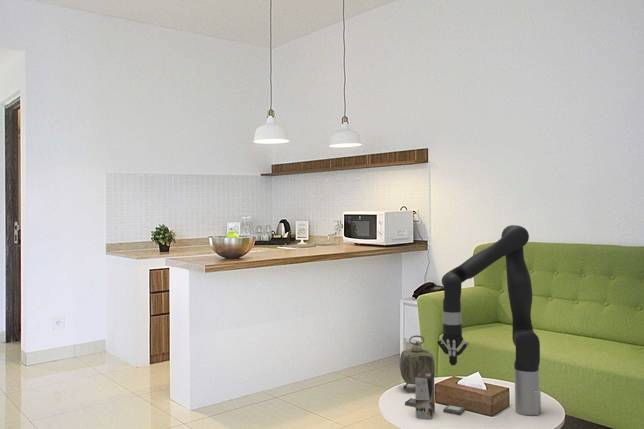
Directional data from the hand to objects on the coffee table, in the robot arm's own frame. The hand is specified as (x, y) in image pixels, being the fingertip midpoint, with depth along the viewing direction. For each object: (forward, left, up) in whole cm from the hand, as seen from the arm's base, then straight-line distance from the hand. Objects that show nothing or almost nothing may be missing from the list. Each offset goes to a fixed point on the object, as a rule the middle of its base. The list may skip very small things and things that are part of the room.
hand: (453, 364), depth 225 cm
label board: (+9, 0, -19) cm, 21 cm away
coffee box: (+9, +9, -19) cm, 23 cm away
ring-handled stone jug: (+24, -18, -19) cm, 35 cm away
